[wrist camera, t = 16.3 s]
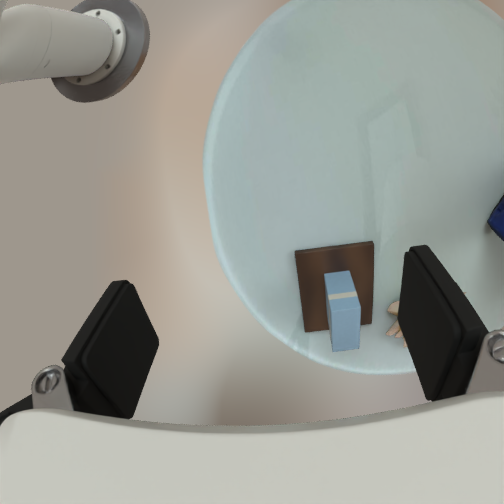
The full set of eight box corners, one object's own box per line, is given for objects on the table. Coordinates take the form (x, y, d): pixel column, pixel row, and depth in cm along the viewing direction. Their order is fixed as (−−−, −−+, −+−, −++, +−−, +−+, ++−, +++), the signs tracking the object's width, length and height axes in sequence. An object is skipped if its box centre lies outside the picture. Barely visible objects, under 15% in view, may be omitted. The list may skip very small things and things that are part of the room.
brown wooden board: (304, 328, 54) (305, 332, 53) (294, 250, 47) (294, 253, 46) (370, 320, 52) (371, 323, 51) (372, 240, 45) (374, 243, 44)
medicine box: (326, 313, 51) (332, 352, 43) (323, 273, 47) (330, 311, 39) (350, 310, 50) (359, 348, 42) (349, 270, 46) (361, 307, 39)
